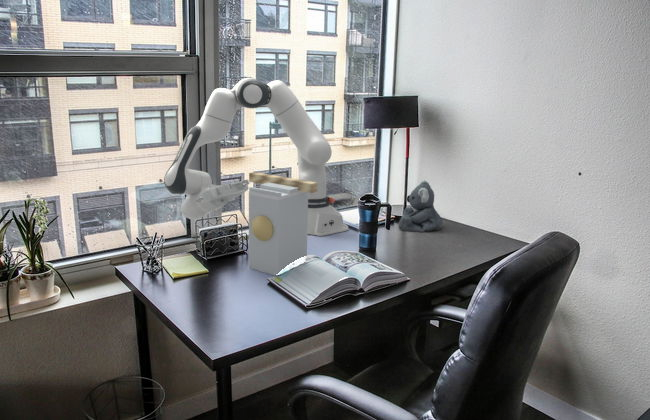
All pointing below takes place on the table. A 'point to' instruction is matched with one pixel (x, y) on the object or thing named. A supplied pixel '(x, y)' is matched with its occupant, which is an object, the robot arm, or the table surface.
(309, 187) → the maple shaft
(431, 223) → the koala plush
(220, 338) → the table surface
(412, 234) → the table surface
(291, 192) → the grey box with disc
